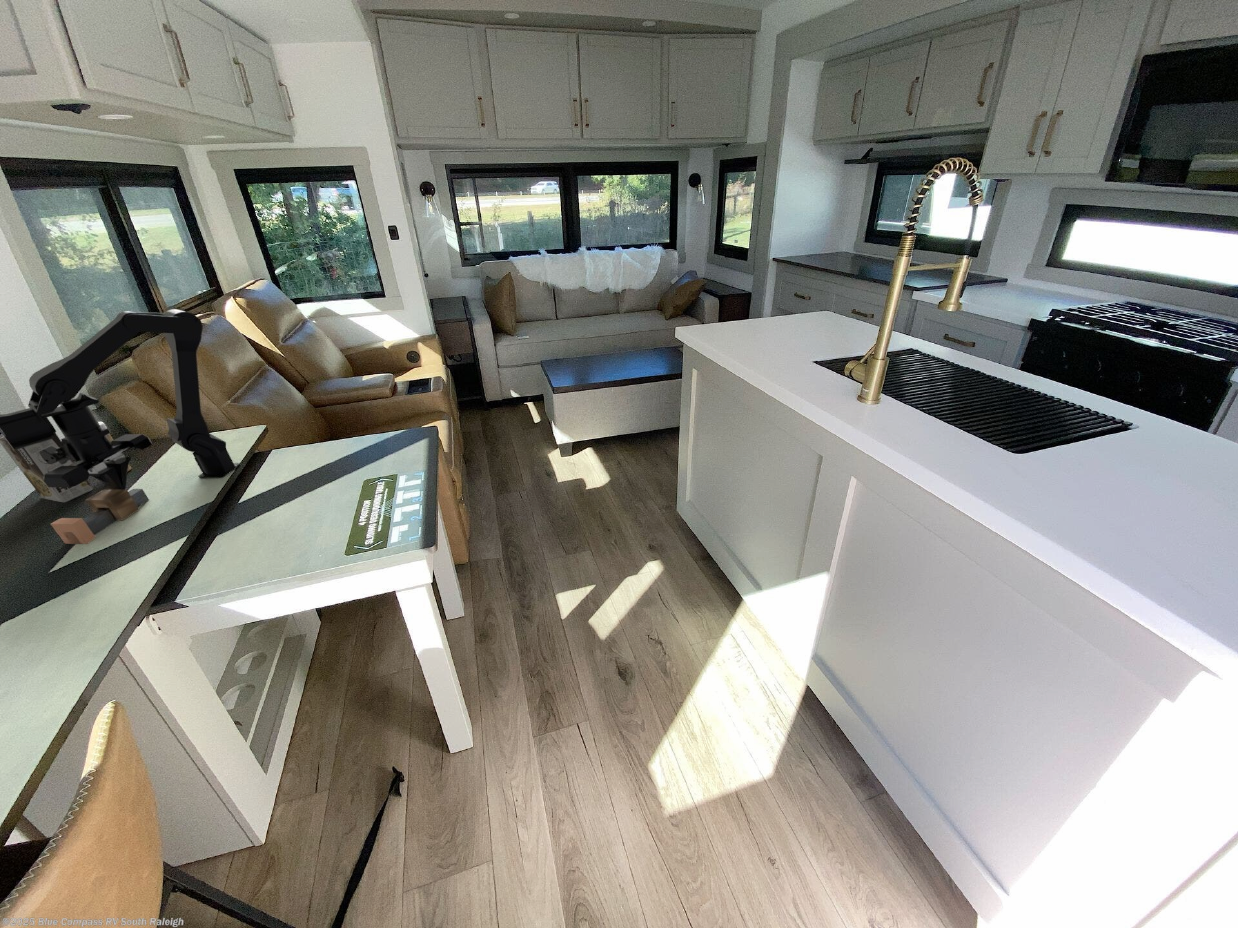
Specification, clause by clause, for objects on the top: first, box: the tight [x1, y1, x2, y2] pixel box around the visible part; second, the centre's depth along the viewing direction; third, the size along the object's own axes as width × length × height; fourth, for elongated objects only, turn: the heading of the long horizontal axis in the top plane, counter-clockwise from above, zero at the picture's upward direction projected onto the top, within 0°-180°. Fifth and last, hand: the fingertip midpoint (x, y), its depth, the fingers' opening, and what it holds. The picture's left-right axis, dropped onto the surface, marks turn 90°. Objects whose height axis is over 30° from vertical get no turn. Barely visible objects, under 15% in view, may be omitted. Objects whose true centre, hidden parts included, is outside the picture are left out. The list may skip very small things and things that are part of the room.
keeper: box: [85, 489, 140, 521], centre depth 113 cm, size 4×6×5 cm
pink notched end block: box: [50, 517, 97, 545], centre depth 106 cm, size 2×5×5 cm, turn 85°
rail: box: [64, 488, 150, 545], centre depth 112 cm, size 16×2×3 cm, turn 175°
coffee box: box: [0, 432, 94, 503], centre depth 120 cm, size 9×6×16 cm
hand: (122, 492), depth 115 cm, fingers closed
